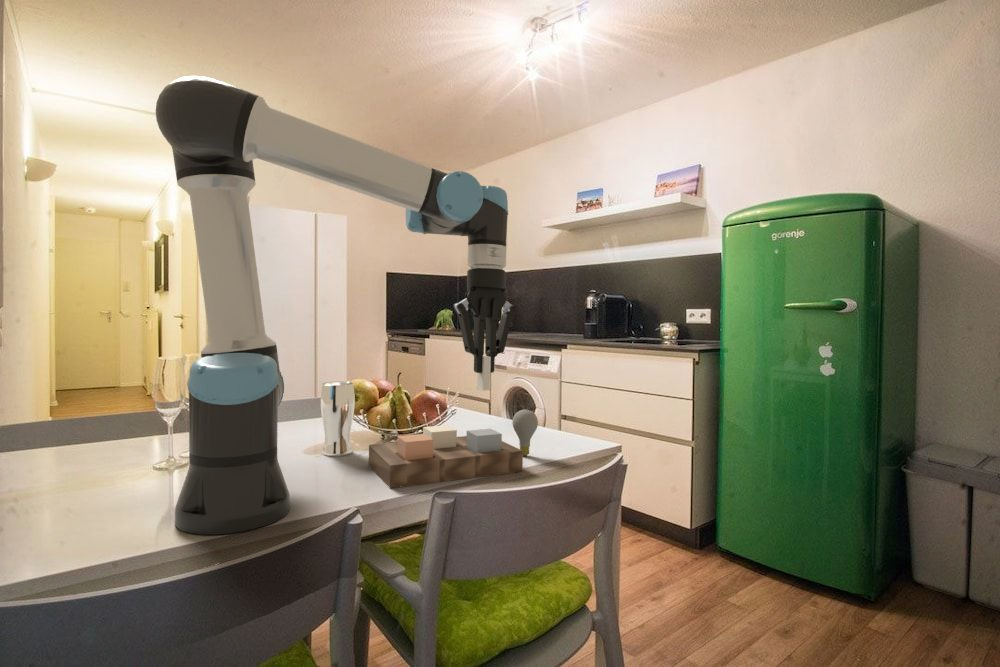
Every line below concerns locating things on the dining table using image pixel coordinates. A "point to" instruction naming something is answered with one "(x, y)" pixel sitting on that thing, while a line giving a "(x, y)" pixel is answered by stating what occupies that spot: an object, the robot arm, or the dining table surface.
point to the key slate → (484, 440)
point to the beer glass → (337, 417)
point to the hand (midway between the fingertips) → (483, 389)
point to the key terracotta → (414, 447)
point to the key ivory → (441, 436)
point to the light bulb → (525, 428)
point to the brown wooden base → (442, 464)
